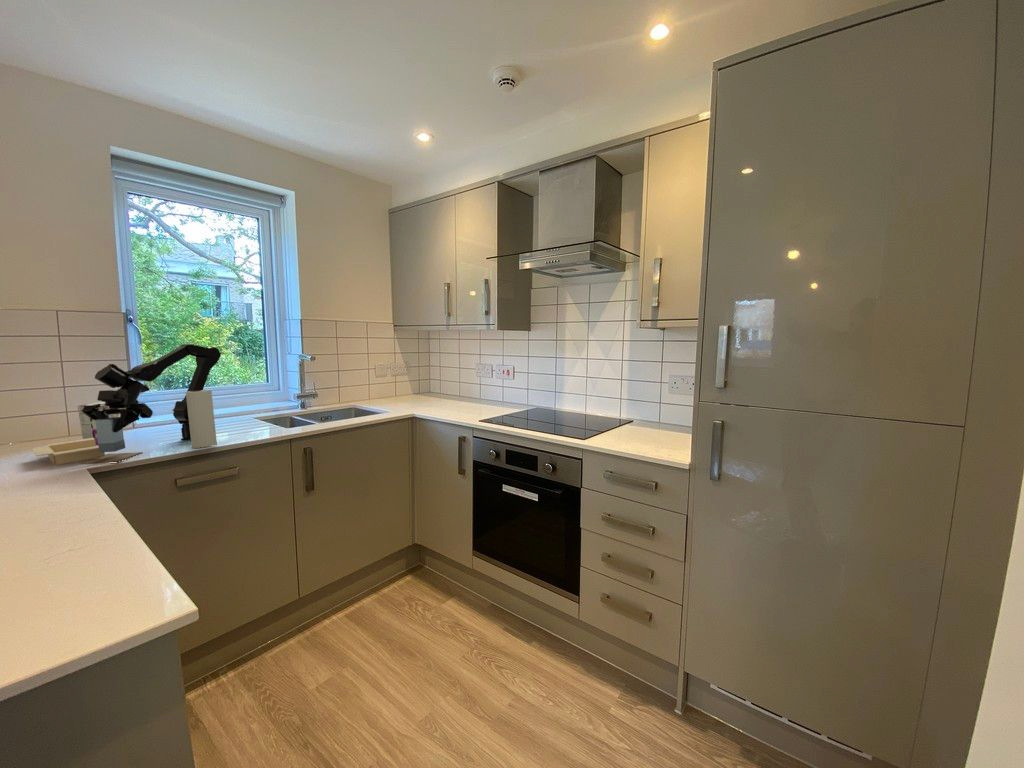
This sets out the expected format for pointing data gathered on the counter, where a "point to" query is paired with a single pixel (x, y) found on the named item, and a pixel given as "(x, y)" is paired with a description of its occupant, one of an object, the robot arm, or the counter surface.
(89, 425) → the candy bar box
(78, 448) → the carton
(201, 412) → the tall white block
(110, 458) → the board
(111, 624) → the counter surface
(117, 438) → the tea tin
